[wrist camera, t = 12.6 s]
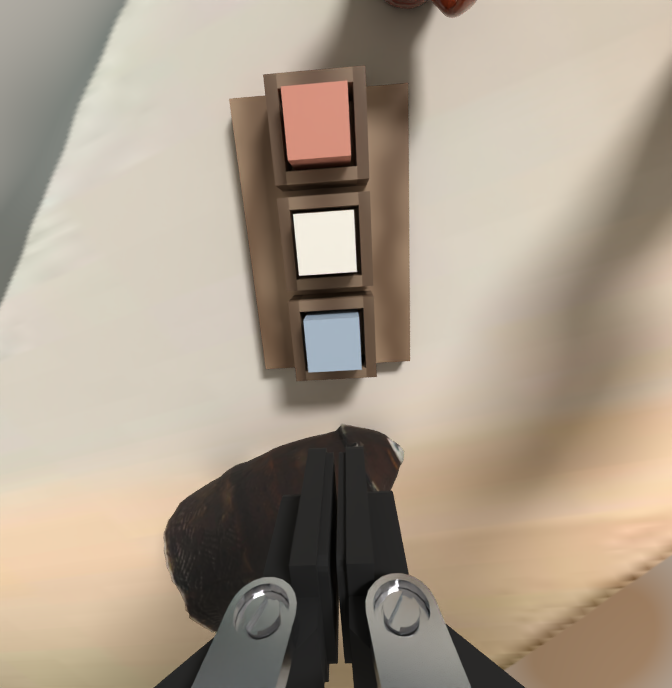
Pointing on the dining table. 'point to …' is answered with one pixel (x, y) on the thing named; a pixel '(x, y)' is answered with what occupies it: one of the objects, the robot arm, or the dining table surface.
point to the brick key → (317, 125)
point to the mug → (450, 3)
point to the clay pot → (253, 517)
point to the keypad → (324, 196)
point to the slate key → (333, 340)
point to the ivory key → (325, 242)
